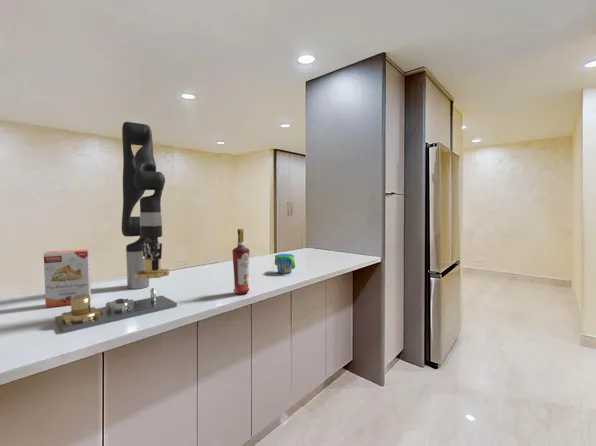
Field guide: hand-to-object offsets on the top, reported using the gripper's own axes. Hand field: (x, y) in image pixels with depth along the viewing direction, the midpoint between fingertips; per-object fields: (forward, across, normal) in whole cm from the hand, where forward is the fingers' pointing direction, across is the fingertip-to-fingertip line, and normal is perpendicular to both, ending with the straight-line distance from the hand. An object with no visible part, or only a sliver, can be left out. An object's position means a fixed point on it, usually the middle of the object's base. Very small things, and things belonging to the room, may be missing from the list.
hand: (152, 269), depth 119 cm
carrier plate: (+14, 0, -12) cm, 18 cm away
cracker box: (+14, -27, -22) cm, 38 cm away
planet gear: (+2, 0, 0) cm, 2 cm away
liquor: (+15, +9, +34) cm, 38 cm away
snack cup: (+14, -8, +75) cm, 77 cm away
